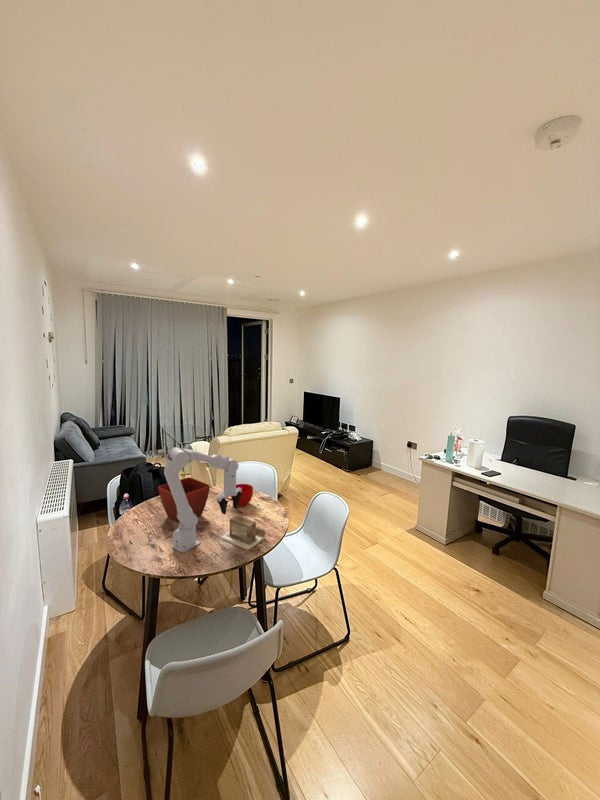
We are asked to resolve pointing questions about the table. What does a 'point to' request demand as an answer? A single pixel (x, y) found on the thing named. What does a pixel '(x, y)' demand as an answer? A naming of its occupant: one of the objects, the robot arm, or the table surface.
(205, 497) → the plant pot
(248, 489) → the ceramic cup
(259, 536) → the tan rimmed flat piece
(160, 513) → the table surface
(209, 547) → the table surface
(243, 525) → the brown slab
